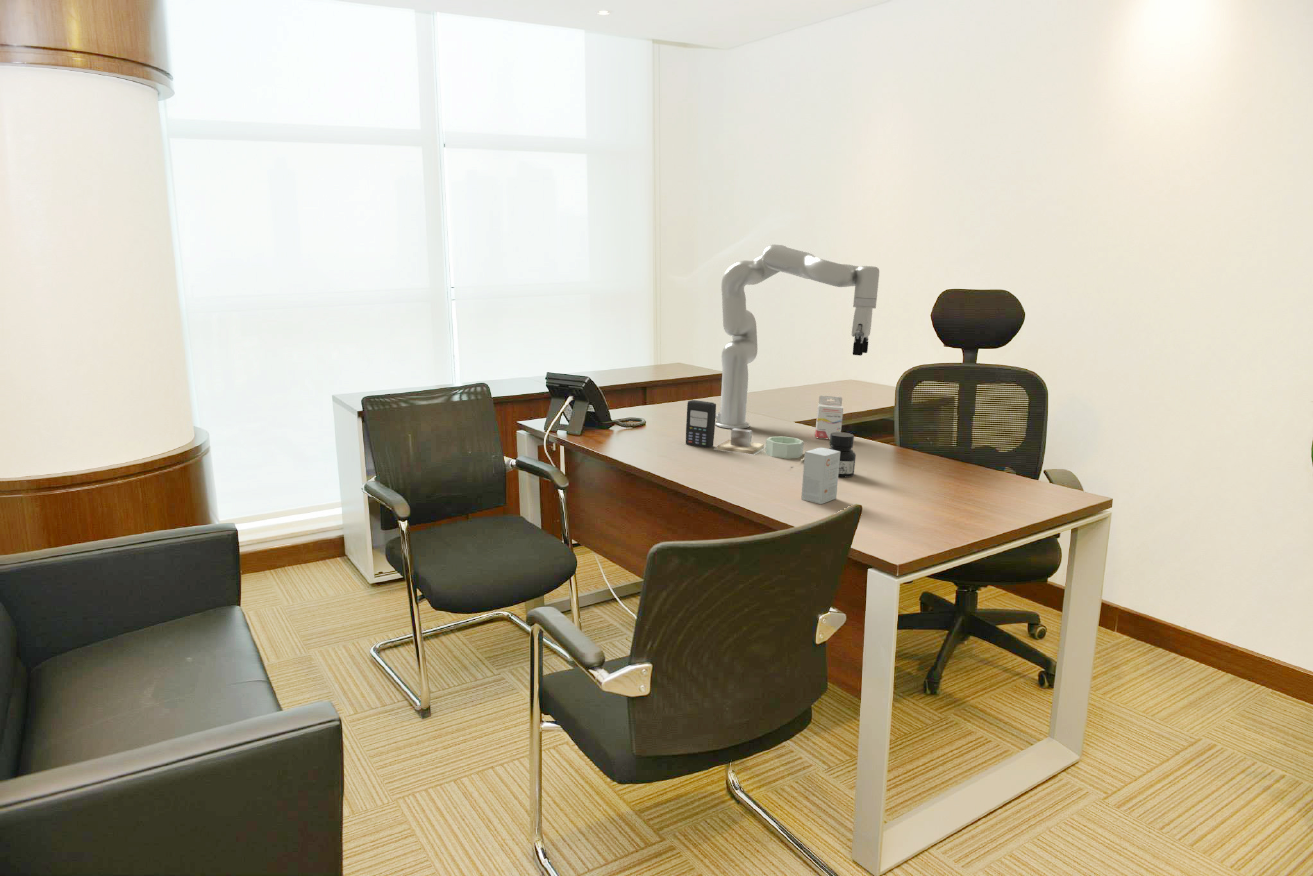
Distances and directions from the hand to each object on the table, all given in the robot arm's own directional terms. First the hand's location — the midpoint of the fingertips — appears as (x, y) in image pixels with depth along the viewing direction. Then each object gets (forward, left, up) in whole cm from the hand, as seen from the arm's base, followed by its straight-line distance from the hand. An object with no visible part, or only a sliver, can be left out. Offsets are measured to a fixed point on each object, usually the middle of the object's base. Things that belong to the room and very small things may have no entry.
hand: (859, 353), depth 293 cm
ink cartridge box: (-9, +1, -31) cm, 32 cm away
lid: (-29, -35, -30) cm, 55 cm away
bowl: (-15, -35, -31) cm, 49 cm away
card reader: (-42, -39, -31) cm, 65 cm away
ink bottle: (+6, -49, -31) cm, 58 cm away
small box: (+7, -79, -31) cm, 85 cm away
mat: (-29, -35, -31) cm, 55 cm away
